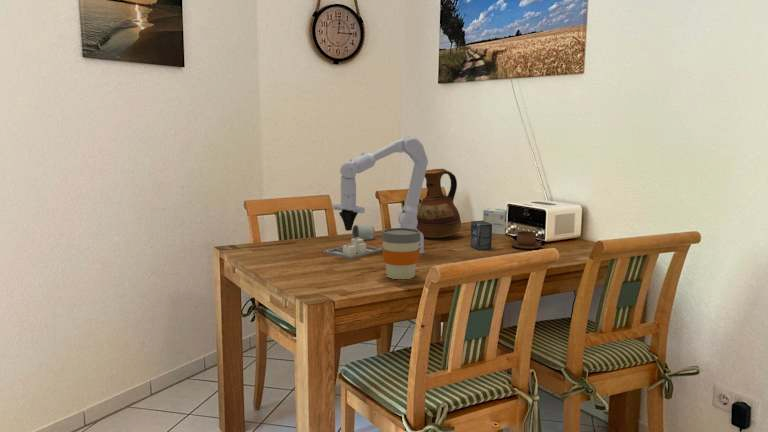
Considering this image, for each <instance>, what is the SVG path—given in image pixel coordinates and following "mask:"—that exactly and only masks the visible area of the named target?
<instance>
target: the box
mask: <svg viewBox="0 0 768 432" xmlns="http://www.w3.org/2000/svg"><path fill="white" fill-rule="evenodd" d="M492 235H493V234H492V224H491V223H488V222H485V221H483V220H473V221H472V220H471V223H470V247H471V248H473V249H475V250H478V251H491V250H492Z"/></svg>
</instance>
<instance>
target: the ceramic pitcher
mask: <svg viewBox="0 0 768 432" xmlns="http://www.w3.org/2000/svg"><path fill="white" fill-rule="evenodd" d="M444 175H448V177H449V180H450V189H449V191H448V193H447V195H445V194H444V192H443V190H442V185H441V182H442V181H441V180H442V177H443V176H444ZM424 179H425V180H426V182H425V183H426V184H425V185H426V189H427V192H426V196H425V197H424V198H423V199H422V200H421V201H420V203H418V213H417V220H418V224H417V227H416V228H417V230H419V231H420V232H421V233H423V236H424V238H430V239H431V238H433V239H436V238H445V237H450V236H453V235H455V234H457V233H459V232H460V231H461V229H462V228H461V227H462V220H461V214H460V212H459V211H458V208H457V206H456V205H455V204H454V199H455V196H456V192H457V188H458V181H457V178H456V175H455V174H454V173H452V172H451V171H449V170H447V169H445V168H432V169H426V172H425V177H424Z"/></svg>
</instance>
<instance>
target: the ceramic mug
mask: <svg viewBox="0 0 768 432" xmlns="http://www.w3.org/2000/svg"><path fill="white" fill-rule="evenodd" d="M351 235H352V236H351V237H352V239H354V238H357V237H360V239H364V241H372V240H373V241H374V239H375V237H376V231H375V227H374V225H371V224H353V226H352V230H351Z"/></svg>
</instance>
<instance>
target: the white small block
mask: <svg viewBox="0 0 768 432" xmlns="http://www.w3.org/2000/svg"><path fill="white" fill-rule="evenodd" d="M360 241H362V243H365V242H364V241H365V240H364V239H360V237H357V238H354V239H353V238H351V239H350V243H351V244H352V245H353V243H356V242H360Z"/></svg>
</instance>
